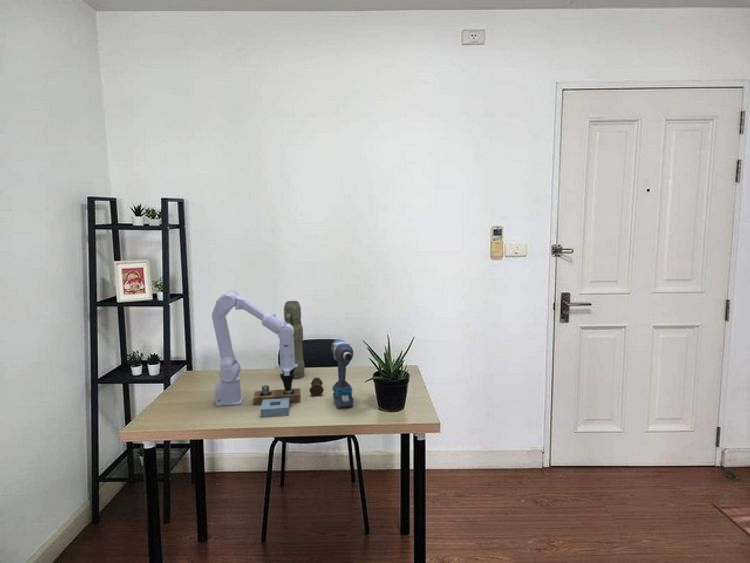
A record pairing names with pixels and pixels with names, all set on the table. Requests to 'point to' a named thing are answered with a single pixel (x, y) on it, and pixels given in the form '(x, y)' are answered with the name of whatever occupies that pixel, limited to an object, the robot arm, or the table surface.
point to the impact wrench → (342, 374)
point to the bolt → (316, 387)
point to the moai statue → (296, 335)
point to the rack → (277, 396)
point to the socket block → (275, 407)
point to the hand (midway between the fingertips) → (288, 387)
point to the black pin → (265, 390)
